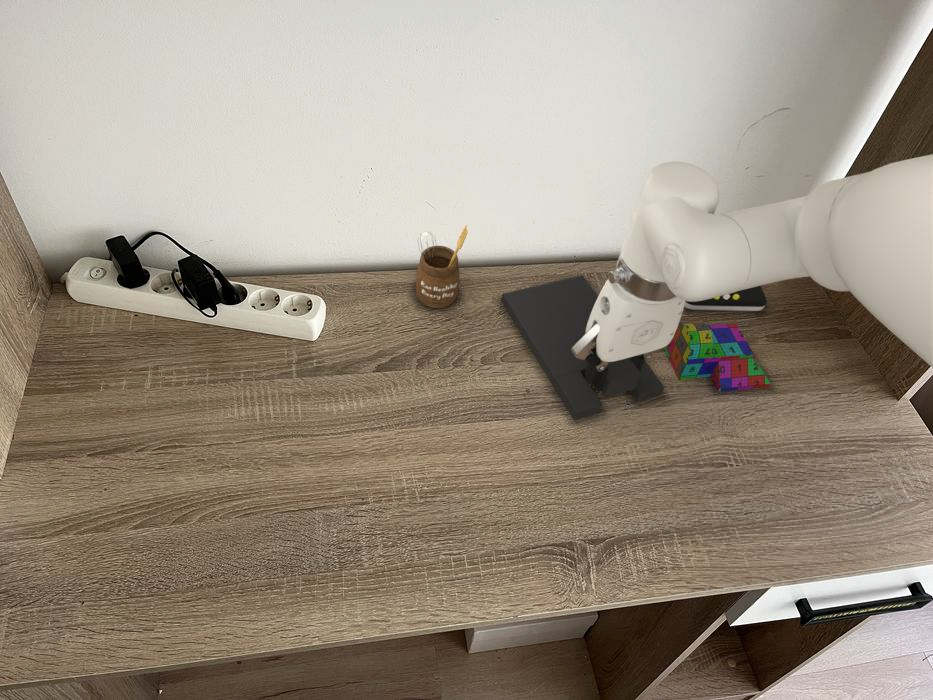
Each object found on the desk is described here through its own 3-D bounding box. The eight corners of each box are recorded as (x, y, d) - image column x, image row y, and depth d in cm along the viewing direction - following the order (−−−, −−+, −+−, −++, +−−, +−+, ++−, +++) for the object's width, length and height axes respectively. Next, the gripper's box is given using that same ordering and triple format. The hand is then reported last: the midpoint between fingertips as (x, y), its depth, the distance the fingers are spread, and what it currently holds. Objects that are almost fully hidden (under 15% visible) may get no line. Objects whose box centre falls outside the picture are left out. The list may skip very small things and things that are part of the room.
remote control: (766, 312, 110) (771, 303, 108) (682, 311, 108) (686, 301, 107) (752, 283, 114) (757, 274, 112) (671, 281, 112) (675, 271, 111)
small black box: (635, 389, 95) (641, 374, 93) (604, 398, 93) (610, 382, 91) (615, 360, 98) (620, 345, 96) (585, 368, 96) (590, 353, 94)
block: (685, 394, 98) (703, 360, 93) (663, 348, 103) (678, 313, 98) (768, 386, 100) (790, 353, 95) (743, 341, 105) (762, 307, 100)
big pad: (661, 394, 97) (664, 387, 96) (573, 420, 93) (576, 413, 92) (580, 282, 110) (582, 274, 109) (500, 301, 106) (502, 293, 105)
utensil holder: (413, 280, 107) (417, 213, 98) (457, 280, 108) (464, 213, 99) (416, 310, 103) (420, 243, 94) (461, 309, 104) (469, 243, 95)
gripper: (600, 311, 77) (566, 417, 90) (733, 278, 82) (682, 382, 96) (566, 264, 81) (538, 371, 95) (695, 235, 87) (651, 341, 100)
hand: (611, 376), depth 95 cm, fingers closed on small black box, 4 cm apart
